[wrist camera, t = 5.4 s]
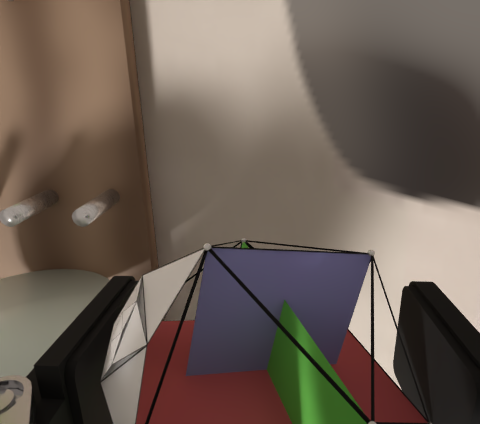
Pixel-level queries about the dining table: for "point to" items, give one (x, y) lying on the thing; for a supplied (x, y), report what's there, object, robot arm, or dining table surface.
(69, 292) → the sage plate
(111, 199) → the rack tines
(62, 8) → the dish rack
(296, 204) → the dining table surface
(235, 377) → the geometric puzzle
